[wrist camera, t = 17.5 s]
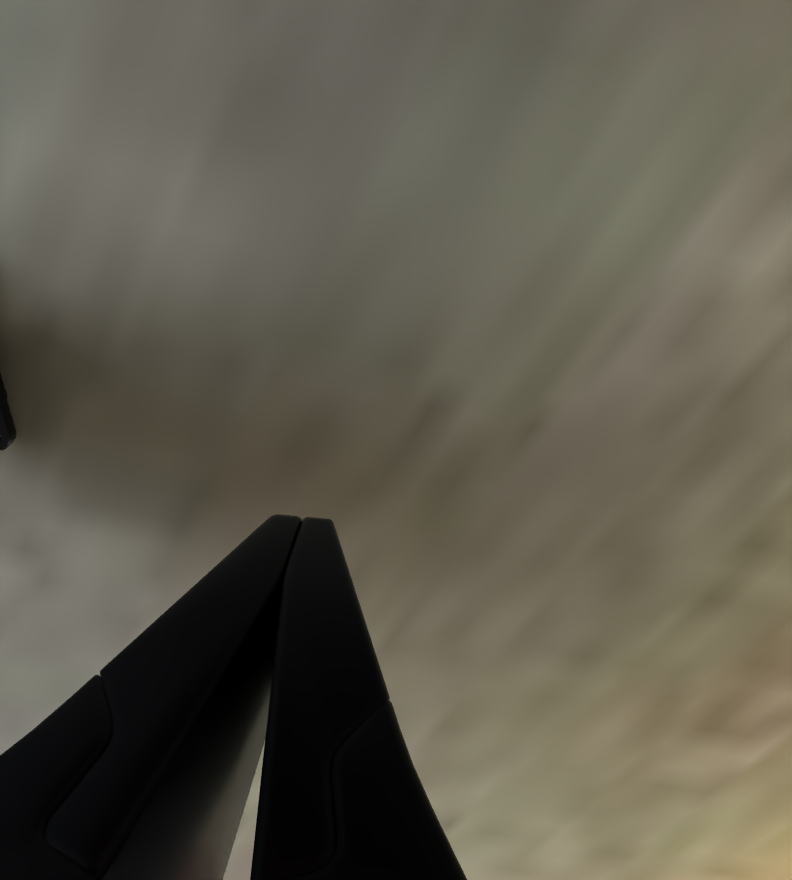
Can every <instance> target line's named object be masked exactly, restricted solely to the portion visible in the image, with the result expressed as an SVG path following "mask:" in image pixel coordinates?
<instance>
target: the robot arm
mask: <svg viewBox="0 0 792 880" xmlns="http://www.w3.org/2000/svg"><path fill="white" fill-rule="evenodd" d="M0 436H1V437H0V450H4V449H6V448H7V447H8V446H9V445H10V444H11V443H12V442H13V441H14V440H15V438H16V430H15V426H14V423H13V419H12V416H11V413H10V409H9V406H8V403H7V394H6V391H5V388H4V384H3V381H2V377H1V374H0ZM100 676H101V677H100ZM100 676H99V675H95V676H94V677H93V678H91V679H90V680H89V681H88V682H87V683H86V684H85V685H84V686H83V687H81V688H80V689H79V690H78V691H77V692H76V693H75V694H74V695H73V696H72V697H70V698H69V699H68V700H67V701H66V702H65V703H63V704H62V705H61V706H60V707H59V708H58V709H56V710H55V711H54V712H53V713H52V714H51V715H50V716H48V717H47V718H46V719H45V720H44V721H43V722H41V723H40V724H39V725H38V726H37V727H36V728H34V729H33V730H32V731H31V732H29V733H28V734H27V735H26V736H24V737H23V738H22V739H21V740H19V741H18V742H17V743H16V744H14V745H13V746H12V747H10V748H9V749H8V750H7V751H5V752H4V753H3V754H2V755H0V880H223V876H224V873H225V870H226V867H227V863H228V860H229V857H230V853H231V850H232V847H233V844H234V840H235V837H236V834H237V830H238V827H239V824H240V820H241V817H242V814H243V811H244V807H245V804H246V801H247V797H248V794H249V791H250V788H251V784H252V781H253V778H254V774H255V771H256V768H257V764H258V761H259V758H260V755H261V751H262V748H263V745H264V741H265V748H264V757H263V766H262V776H261V785H260V794H259V804H258V813H257V822H256V832H255V841H254V850H253V860H252V869H251V878H250V880H467V879H466V876H465V874H464V872H463V870H462V868H461V866H460V864H459V862H458V860H457V858H456V856H455V854H454V852H453V850H452V848H451V846H450V843H449V841H448V839H447V837H446V835H445V833H444V831H443V829H442V827H441V825H440V823H439V821H438V819H437V817H436V815H435V813H434V810H433V808H432V806H431V804H430V802H429V800H428V797H427V795H426V793H425V790H424V788H423V786H422V784H421V781H420V779H419V777H418V775H417V772H416V770H415V768H414V766H413V763H412V760H411V757H410V755H409V752H408V749H407V746H406V744H405V741H404V738H403V735H402V733H401V730H400V727H399V724H398V721H397V718H396V715H395V712H394V709H393V706H392V703H391V702H390V701H389V699H390V698H389V694H388V691H387V688H386V685H385V682H384V679H383V675H382V672H381V669H380V666H379V663H378V660H377V657H376V654H375V650H374V647H373V644H372V641H371V638H370V635H369V632H368V629H367V626H366V622H365V619H364V616H363V613H362V610H361V607H360V604H359V601H358V598H357V594H356V591H355V588H354V585H353V582H352V579H351V576H350V573H349V569H348V566H347V563H346V560H345V557H344V554H343V551H342V548H341V545H340V541H339V538H338V535H337V532H336V529H335V526H334V523H333V521H332V520H330V519H325V518H313V517H306V518H304V519H303V521H302V519H301V518H300V517H299V516H290V515H279V514H276V515H273V516H271V517H269V518H268V519H267V520H266V521H265V522H264V523H263V524H262V525H261V526H260V527H258V528H257V529H256V530H255V531H254V532H253V533H252V534H251V535H250V536H249V537H247V538H246V539H245V540H244V541H243V542H242V543H241V544H240V545H239V546H237V547H236V548H235V549H234V550H233V551H232V552H231V553H230V554H229V555H228V556H226V557H225V558H224V559H223V560H222V561H221V562H220V563H219V564H218V565H217V566H215V567H214V568H213V569H212V570H211V571H210V572H209V573H208V574H207V575H205V576H204V577H203V578H202V579H201V580H200V581H199V582H198V583H197V584H196V585H194V586H193V587H192V588H191V589H190V590H189V591H188V592H187V593H186V594H184V595H183V596H182V597H181V598H180V599H179V600H178V601H177V602H176V603H175V604H173V605H172V606H171V607H170V608H169V609H168V610H167V611H166V612H165V613H164V614H162V615H161V616H160V617H159V618H158V619H157V620H156V621H155V622H154V623H152V624H151V625H150V626H149V627H148V628H147V629H146V630H145V631H144V632H143V633H141V634H140V635H139V636H138V637H137V638H136V639H135V640H134V641H133V642H132V643H130V644H129V645H128V646H127V647H126V648H125V649H124V650H123V651H122V652H120V653H119V654H118V655H117V656H116V657H115V658H114V659H113V660H112V661H111V662H109V663H108V664H107V665H106V666H105V667H104V668H103V669H102V670H101V671H100Z"/></svg>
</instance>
